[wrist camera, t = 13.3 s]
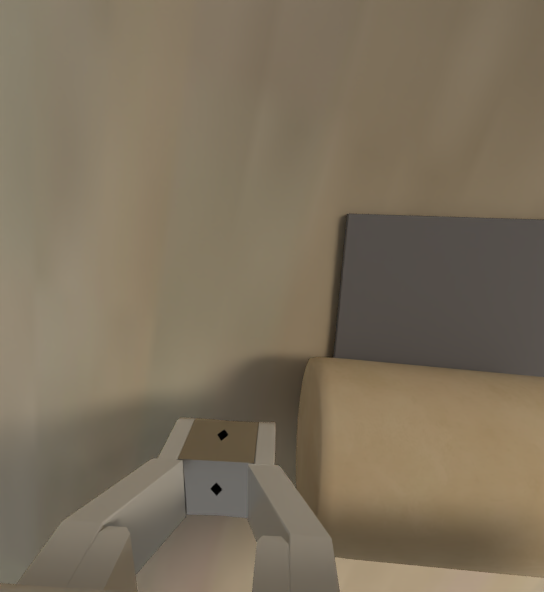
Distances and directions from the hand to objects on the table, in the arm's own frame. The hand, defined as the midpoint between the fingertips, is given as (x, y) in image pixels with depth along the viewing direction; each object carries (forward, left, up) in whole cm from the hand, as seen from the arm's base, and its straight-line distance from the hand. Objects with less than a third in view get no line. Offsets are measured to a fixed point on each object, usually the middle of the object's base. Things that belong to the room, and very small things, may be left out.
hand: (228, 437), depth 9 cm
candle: (-2, 0, 0) cm, 2 cm away
